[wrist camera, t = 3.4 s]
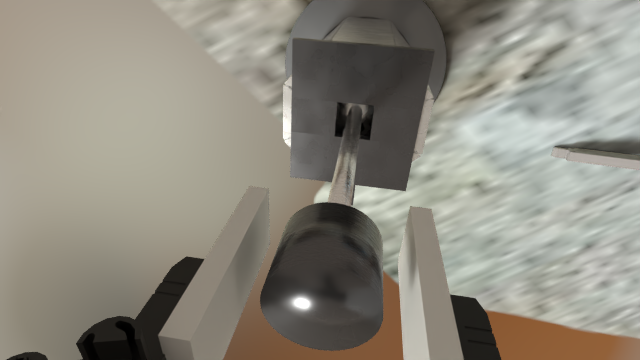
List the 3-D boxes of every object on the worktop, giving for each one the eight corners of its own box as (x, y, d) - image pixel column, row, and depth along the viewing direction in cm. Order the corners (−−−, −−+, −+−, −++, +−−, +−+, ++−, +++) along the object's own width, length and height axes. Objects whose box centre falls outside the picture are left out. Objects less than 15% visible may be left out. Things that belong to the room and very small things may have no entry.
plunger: (305, 49, 24) (177, 183, 9) (420, 59, 23) (495, 224, 8) (302, 151, 28) (208, 366, 13) (400, 162, 27) (426, 405, 12)
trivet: (287, -28, 34) (285, -28, 33) (463, -16, 32) (465, -16, 31) (286, 131, 42) (284, 134, 41) (426, 147, 40) (427, 150, 39)
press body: (317, 12, 34) (281, 36, 22) (422, 20, 33) (447, 50, 21) (311, 137, 41) (281, 211, 28) (399, 147, 40) (407, 227, 27)
